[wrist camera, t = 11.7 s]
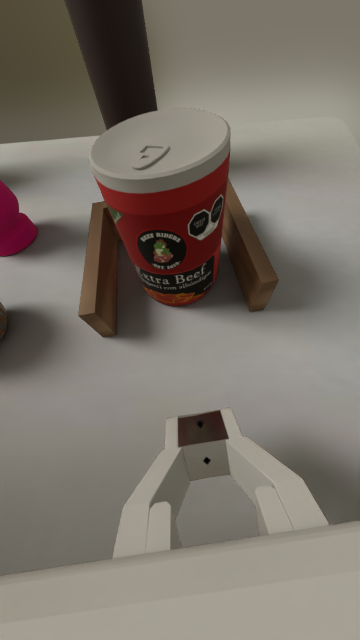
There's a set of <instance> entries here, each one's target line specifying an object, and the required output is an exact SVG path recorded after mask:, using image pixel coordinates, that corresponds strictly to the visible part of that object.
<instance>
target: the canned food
mask: <svg viewBox="0 0 360 640" xmlns="http://www.w3.org/2000/svg"><path fill="white" fill-rule="evenodd" d="M229 157H230V127H229V125H228V123H227V122H226V121H225V120H224V119H223V118H222V117H220V116H218V115H216V114H214V113H212V112H208V111H205V110H200V109H192V108H175V109H165V110H159V111H153V112H149V113H145V114H142V115H138V116H135V117H133V118H130V119H127V120H125V121H123V122H121V123H119V124H117V125H115V126H113V127H112V128H110V129H109V130H107V131H106V132H105V133H103V134H102V135H101V136H100V137H99V138H98V139H97V140H96V141H95V142H94V144H93V145H92V147H91V148H90V152H89V162H90V164H91V167H92V170H93V174H94V177H95V179H96V181H97V183H98V186H99V188H100V190H101V193H102V196H103V198H104V200H105V203H106V205H107V207H108V209H109V212H110V214H111V216H112V218H113V221H114V223H115V225H116V227H117V230H118V232H119V234H120V236H121V239H122V241H123V243H124V245H125V248H126V250H127V252H128V254H129V257H130V259H131V261H132V263H133V266H134V268H135V270H136V272H137V274H138V277H139V279H140V281H141V283H142V286H143V287H144V289H145V291H146V292H147V293H148V294H149V295H150V296H151V297H152V298H154V299H155V300H157V301H158V302H160V303H163V304H166V305H171V306H180V305H186V304H189V303H192V302H195V301H197V300H198V299H200V298H202V297H203V296H204V295H205V294H206V293H207V292H208V291H209V290H210V289H211V287H212V285H213V283H214V281H215V280H216V277H217V273H218V266H219V257H220V247H221V238H222V228H223V219H224V209H225V200H226V190H227V181H228V170H229Z"/></svg>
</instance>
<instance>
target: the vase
mask: <svg viewBox="0 0 360 640" xmlns="http://www.w3.org/2000/svg"><path fill="white" fill-rule="evenodd" d="M6 328H7V314H6V311H5V308H4V307H3V305H2V304H1V302H0V340H1V338H2V337H3V335H4V334H5V331H6Z"/></svg>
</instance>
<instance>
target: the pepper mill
mask: <svg viewBox="0 0 360 640" xmlns="http://www.w3.org/2000/svg"><path fill="white" fill-rule="evenodd" d="M36 235H37V228H36V226H35V225H34V224H33V223H32V221H31V220H30V219H29V218H28V217H27V216H26V215H25V214H23V213H19V204H18V200H17V198H16V196H15V195H14V194H13V192H12V191H11V190H10V189H9V188H8V187H7V186H6V185H5V184H4V183H3V182H2V181H1V180H0V256H7V255H11V254H15V253H17V252H19V251H21V250H23V249H25V248H26V247H27V246H29V245H30V244H31V243H32V242H33V240H34V239H35V238H36Z"/></svg>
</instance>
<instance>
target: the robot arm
mask: <svg viewBox="0 0 360 640" xmlns="http://www.w3.org/2000/svg"><path fill="white" fill-rule="evenodd" d="M224 475H231V477H232V478H233V479H234V480H235V481H236V482H237V484H238V485H239V486H240V487H241V488H242V490H243V491H244V492H245V493H246V494H247V496H248V497H249V498H250V499H251V500H252V502H253V503H254V504H255V505H256V508H257V519H258V529H259V536H255V537H249V538H242V539H236V540H229V541H223V542H216V543H210V544H204V545H197V546H191V547H184V548H182V544H181V541H180V537H179V533H178V530H177V526H176V523H175V520H176V518H177V515H178V512H179V510H180V507H181V505H182V502H183V500H184V497H185V494H186V492H187V489H188V487H189V484H190V481H193V480H199V479H204V478H209V477H216V476H224ZM0 640H360V520H359V521H352V522H346V523H340V524H333V525H329V523H328V521H327V520H326V518H325V516H324V515H323V513H322V511H321V510H320V508H319V506H318V505H317V503H316V501H315V499H314V498H313V496H312V494H311V493H310V491H309V489H308V488H307V486H306V484H305V483H304V481H303V479H302V478H301V477H299V476H298V475H297V474H295V473H294V472H293V471H291V470H290V469H289V468H287V467H286V466H285V465H283V464H282V463H281V462H279V461H278V460H277V459H275V458H274V457H273V456H272V455H270V454H269V453H268V452H266V451H265V450H264V449H262V448H261V447H260V446H258V445H257V444H256V443H254V442H253V441H252V440H250V439H249V438H248V437H243V436H242V434H241V431H240V428H239V426H238V423H237V421H236V418H235V416H234V413H233V411H232V409H231V408H230V407H229V408H224V409H220V410H214V411H208V412H203V413H197V414H190V415H183V416H178V417H171V418H167V420H166V435H165V450H162V451H161V452H160V453H159V455H158V456H157V458H156V459H155V461H154V462H153V464H152V465H151V467H150V468H149V470H148V471H147V472H146V474H145V475H144V477H143V478H142V480H141V481H140V483H139V484H138V486H137V487H136V489H135V490H134V492H133V493H132V495H131V496H130V497H129V499H128V500H127V502H126V503H125V505H124V506H123V510H122V514H121V519H120V524H119V528H118V533H117V538H116V542H115V547H114V552H113V556H112V559H107V560H100V561H94V562H87V563H81V564H74V565H68V566H61V567H55V568H48V569H42V570H35V571H29V572H23V573H16V574H9V575H3V576H0Z"/></svg>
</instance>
